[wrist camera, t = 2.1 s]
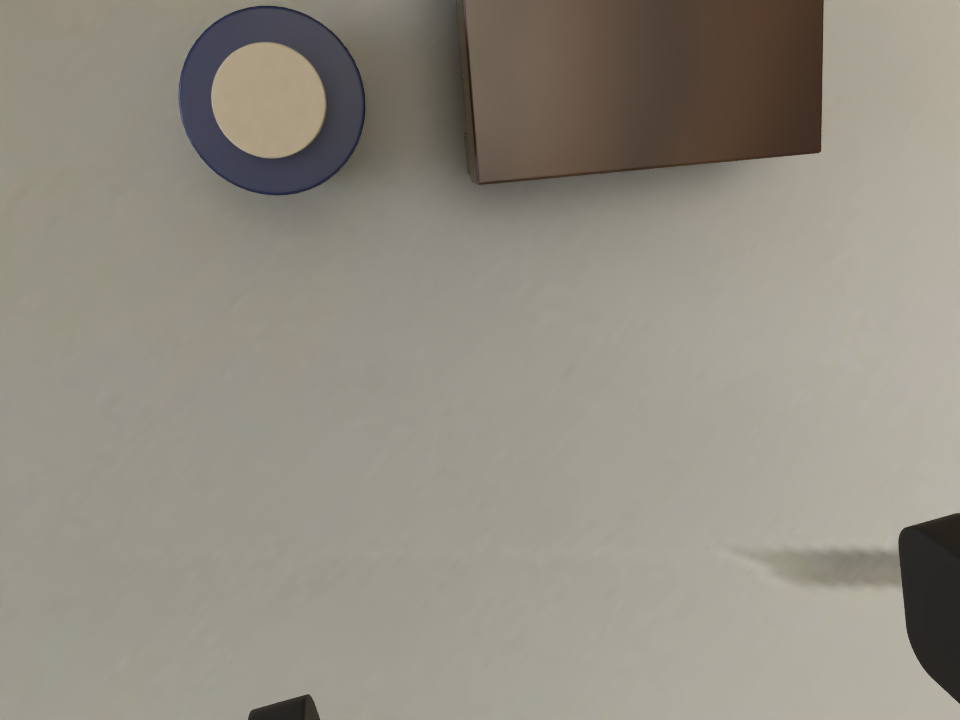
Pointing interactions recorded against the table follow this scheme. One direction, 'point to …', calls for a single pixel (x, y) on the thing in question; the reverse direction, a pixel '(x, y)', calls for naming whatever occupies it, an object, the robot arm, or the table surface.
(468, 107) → the brown wooden stand
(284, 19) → the bottle
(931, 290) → the table surface
